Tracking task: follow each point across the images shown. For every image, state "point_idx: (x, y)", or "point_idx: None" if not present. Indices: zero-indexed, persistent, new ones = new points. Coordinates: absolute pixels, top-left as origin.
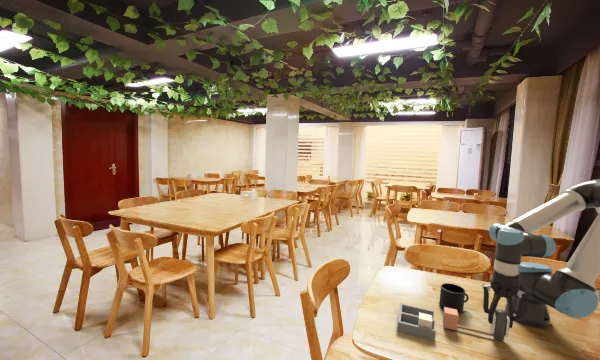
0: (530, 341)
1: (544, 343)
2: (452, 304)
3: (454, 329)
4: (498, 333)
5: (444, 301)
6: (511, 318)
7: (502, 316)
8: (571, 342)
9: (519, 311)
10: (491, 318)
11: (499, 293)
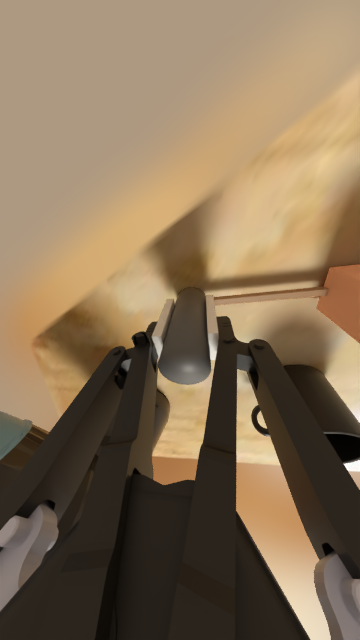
0: (122, 329)
1: (99, 336)
2: (311, 386)
3: (341, 266)
4: (193, 296)
5: (335, 392)
6: (143, 343)
7: (180, 338)
8: (65, 360)
9: (96, 381)
10: (223, 329)
11: (213, 570)
